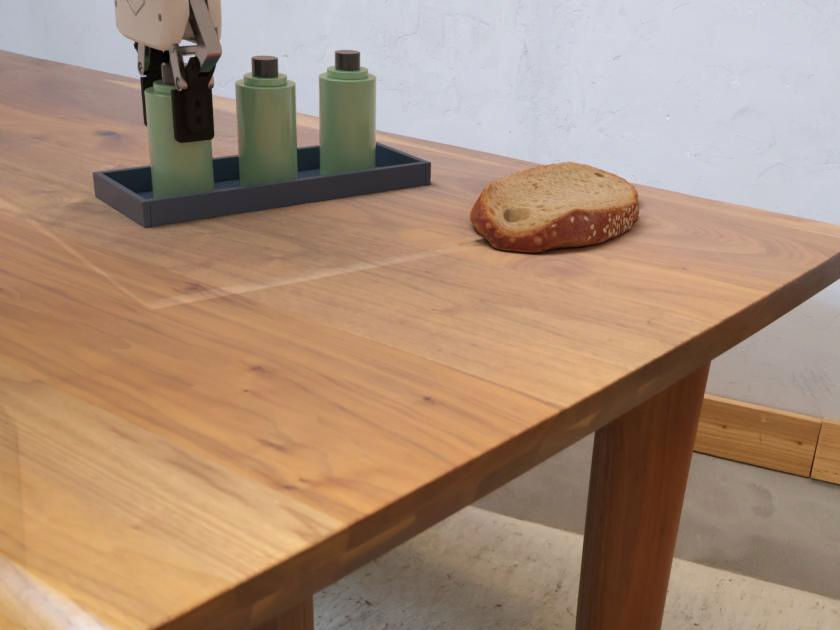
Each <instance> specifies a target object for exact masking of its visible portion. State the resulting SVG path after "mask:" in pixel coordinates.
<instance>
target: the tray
mask: <svg viewBox="0 0 840 630" xmlns="http://www.w3.org/2000/svg"><path fill="white" fill-rule="evenodd" d="M297 157H298V179H292V180H285V181H277V182H270V183H263V184H255V185H248V186H241V187H240V181H239V159H238V154H233V155H225V156H217V157H213V173H214V190H212V191H204V192H197V193H190V194H182V195H175V196H168V197H160V198H153V191H152V179H151V166H150V164H149V165H142V166H135V167H126V168H116V169H107V170H100V171H92V180H93V190H94V196H95V198H97V199H98V200H99V201H101V202H103V203H104V204H106V205H107V206H109V207H110V208H112V209H113V210H115V211H117V212H118V213H120V214H121V215H123V216H124V217H126V218H128V219H130V221H132V222H134V223H136V224H137V225H139V226H140V227H142V228H144V229H148V228H155V227H162V226H169V225H176V224H181V223H188V222H194V221H202V220H208V219H214V218H221V217H228V216H235V215H241V214H247V213H254V212H261V211H268V210H275V209H280V208H281V209H282V208H288V207H294V206H301V205H309V204H314V203H320V202H326V201H327V202H329V201H332V200H333V201H334V200H335V201H336V200H341V199H346V198H348V199H349V198H353V197H360V196H367V195H368V196H369V195H372V194H373V195H375V194H381V193H388V192H394V191H400V190H405V189H406V190H408V189H413V188H420V187H427V186H431V183H432V180H431V179H432V162H431V161H429V160H426V159H423V158H421V157H418V156H415V155H413V154H410V153H408V152H404V151H402V150H399V149H397V148H394V147H391V146H389V145H386V144H384V143H382V142H379V141H376V167H375V168H372V169H365V170H358V171H350V172H343V173H336V174H328V175H321V176H320V144H316V145H309V146H308V145H307V146H300V147H297Z"/></svg>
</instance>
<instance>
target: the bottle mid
mask: <svg viewBox="0 0 840 630" xmlns="http://www.w3.org/2000/svg"><path fill="white" fill-rule="evenodd" d="M250 63H251V72H246V73H244V74H243V76H242V79H238V80H236V81H235V82H234V90H235V91H234V93H235V110H236V112H235V113H236V115H235V116H236V133H237V134H236V135H237V137H236V138H237V155H238V159H239V181H240V187H241V186H248V185H255V184H263V183H270V182H277V181H285V180H292V179H298V157H297V148H298V116H297V83H296V82H295V81H293V80H291V79H288V75H287V74H285V73H282V72H280V71H279V70H280V69H279V58H278V57H277V56H273V55H254V56H251V58H250Z"/></svg>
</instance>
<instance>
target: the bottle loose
mask: <svg viewBox="0 0 840 630" xmlns="http://www.w3.org/2000/svg"><path fill="white" fill-rule="evenodd" d="M187 63H188V62H184V66H185V68H186V66H187ZM161 75H162V79H160V80H156V81H154V82H153V87H149V88H147V89H145V91H144V92H145V104H146V117H147V126H146V127H147V128H146V130H147V140H148V152H149V165H150V166H151V179H152V191H153V198H160V197H168V196H175V195H182V194H190V193H197V192H204V191H212V190H214V173H213V158H214V157H213V139H211V140H204V141H196V142H187V143H179V142H177V141H176V140H175V139H174V128H173V114H172V100H171V90H173V89H176V86H175V81H174V75H173V70H172V64H171V62H165V63H162V64H161Z"/></svg>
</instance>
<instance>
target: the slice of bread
mask: <svg viewBox="0 0 840 630" xmlns="http://www.w3.org/2000/svg"><path fill="white" fill-rule="evenodd" d="M639 215H640V208H639V192H638V191H637V188H635V186H634V185H633V184H631V183H630V182H629V181H627V180H626V179H625V178H623V177H621V176H619V175H617V174H615V173H612V172H609V171H606V170H604V169H601V168H598V167H595V166H592V165H589V164H583V163H579V162H575V161H566V162H557V163H550V164H546V165H538V166H536V167H531V168H528V169H525V170H522V171H518V172H516V173H515V174H514V173H513V174H510V175H509V176H504V177H503V178H500V179H498V180H496V181H491V182H489V183H488V184H487V185H486V186H485V187H484V188H483V189H482V191H481V193H480V194H479V195H478V198H477V199H476V201H475V202H474V204H473V206H472V208H471V210H470V214H469V219H470V223H471V224H472V226H473V228H474V229H475V230H476V232H477V233H478V234H479V235H480V236H481V237H482V238H483V239H484V240H485V241H487V242H489V244H490V245H491V246H492V247H493V248H495V249H497V250H500V251H511V252H521V253H532V254H533V253H534V254H537V253H543V252H545V251H548V250H554V249H563V248H576V247H577V248H578V247H585V246H591V245H593V246H594V245H598V244H601V243H604V242H606V241H607V240H610V239H614V238H616V237H618V236H620V235H622V234H624V233H625V232H626V231H629V230H631V228H632V226H633V223H634V222H635V221H637V220H638V219H639Z"/></svg>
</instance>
